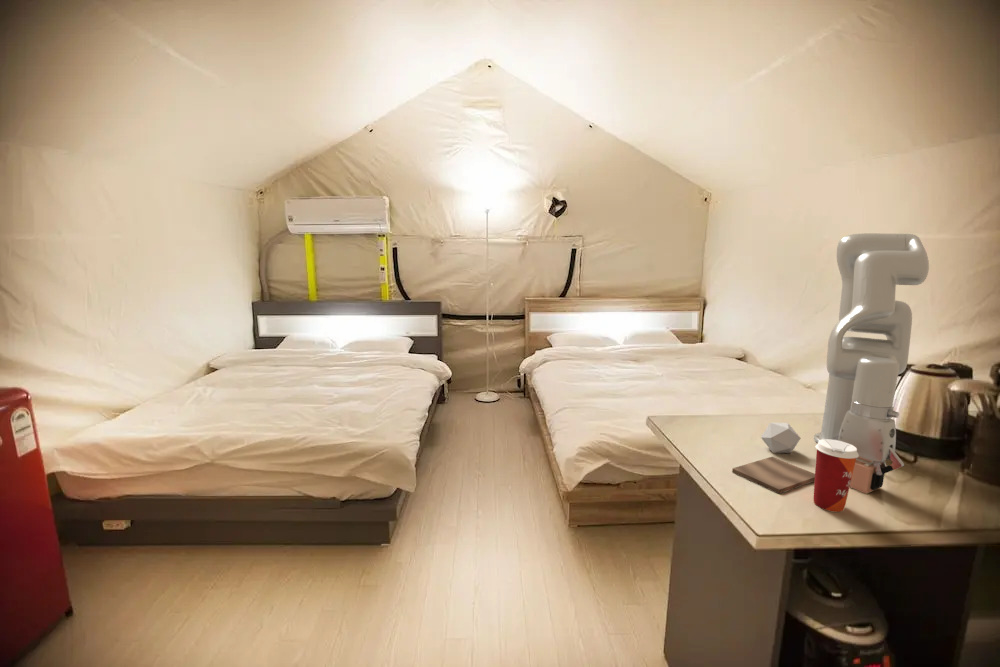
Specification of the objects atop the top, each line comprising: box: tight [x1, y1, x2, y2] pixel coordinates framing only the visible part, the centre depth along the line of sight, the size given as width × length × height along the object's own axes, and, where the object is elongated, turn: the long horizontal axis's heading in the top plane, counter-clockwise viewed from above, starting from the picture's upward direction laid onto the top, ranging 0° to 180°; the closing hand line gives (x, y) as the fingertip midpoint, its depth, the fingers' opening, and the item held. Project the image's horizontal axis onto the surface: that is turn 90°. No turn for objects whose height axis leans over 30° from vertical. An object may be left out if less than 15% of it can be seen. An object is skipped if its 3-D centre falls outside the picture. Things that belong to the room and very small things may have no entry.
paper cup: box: [813, 439, 859, 513], centre depth 104 cm, size 8×8×14 cm
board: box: [731, 456, 815, 494], centre depth 118 cm, size 16×12×1 cm
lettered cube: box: [849, 456, 875, 494], centre depth 114 cm, size 6×6×6 cm
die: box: [760, 422, 801, 454], centre depth 133 cm, size 8×9×10 cm
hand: (859, 481), depth 114 cm, fingers closed on lettered cube, 6 cm apart
